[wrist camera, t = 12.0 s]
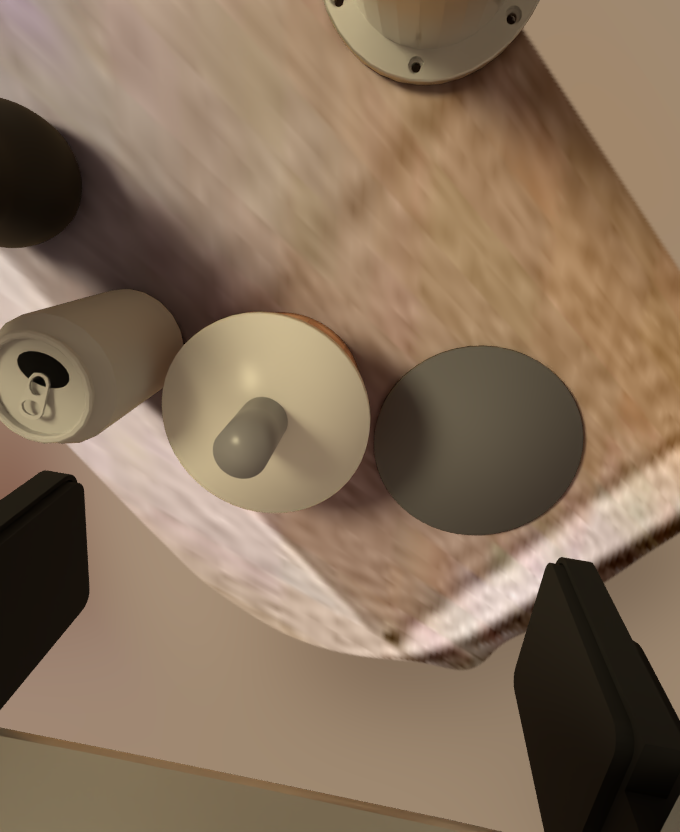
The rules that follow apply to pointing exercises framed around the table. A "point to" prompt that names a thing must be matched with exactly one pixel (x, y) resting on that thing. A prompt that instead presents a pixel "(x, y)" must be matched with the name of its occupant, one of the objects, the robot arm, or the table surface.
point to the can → (84, 364)
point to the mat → (478, 440)
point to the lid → (266, 412)
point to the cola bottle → (34, 178)
